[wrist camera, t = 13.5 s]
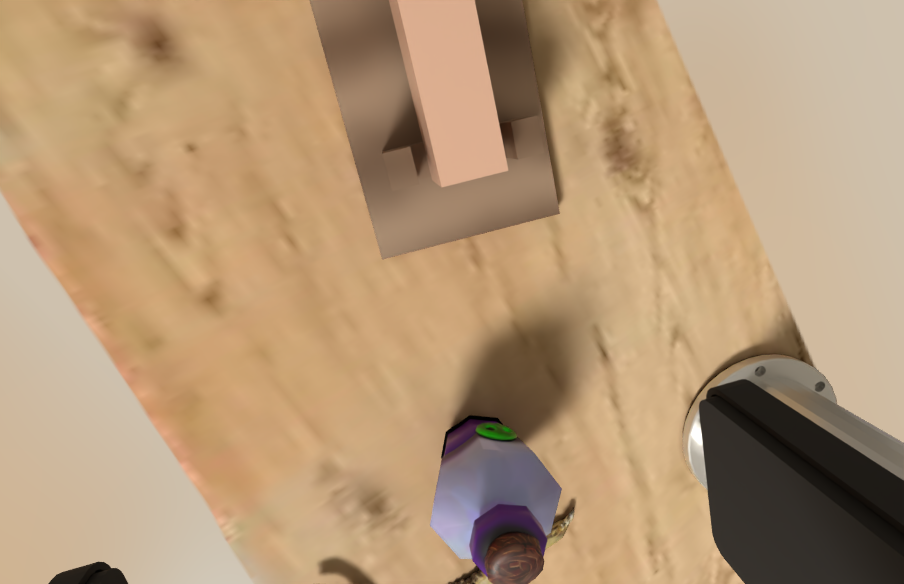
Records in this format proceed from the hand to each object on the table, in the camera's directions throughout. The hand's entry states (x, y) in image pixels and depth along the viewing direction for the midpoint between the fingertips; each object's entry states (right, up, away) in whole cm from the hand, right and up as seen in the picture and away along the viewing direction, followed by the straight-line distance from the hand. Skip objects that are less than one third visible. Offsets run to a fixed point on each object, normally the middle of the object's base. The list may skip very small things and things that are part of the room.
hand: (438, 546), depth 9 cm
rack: (-1, +19, +24) cm, 31 cm away
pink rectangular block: (-1, +19, +21) cm, 28 cm away
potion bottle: (+2, -8, +32) cm, 33 cm away
